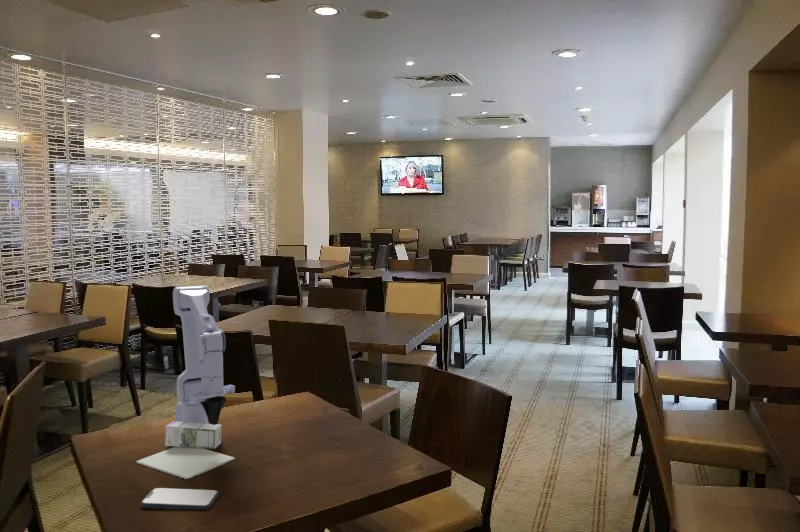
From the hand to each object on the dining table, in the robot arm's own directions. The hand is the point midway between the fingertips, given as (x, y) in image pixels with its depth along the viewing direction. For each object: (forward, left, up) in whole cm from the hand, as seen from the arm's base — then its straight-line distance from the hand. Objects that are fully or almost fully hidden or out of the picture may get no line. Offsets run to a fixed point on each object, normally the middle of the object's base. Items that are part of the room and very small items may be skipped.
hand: (213, 423), depth 184 cm
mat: (-2, -8, -8) cm, 12 cm away
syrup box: (-2, +4, -5) cm, 7 cm away
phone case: (+16, -25, -9) cm, 31 cm away
